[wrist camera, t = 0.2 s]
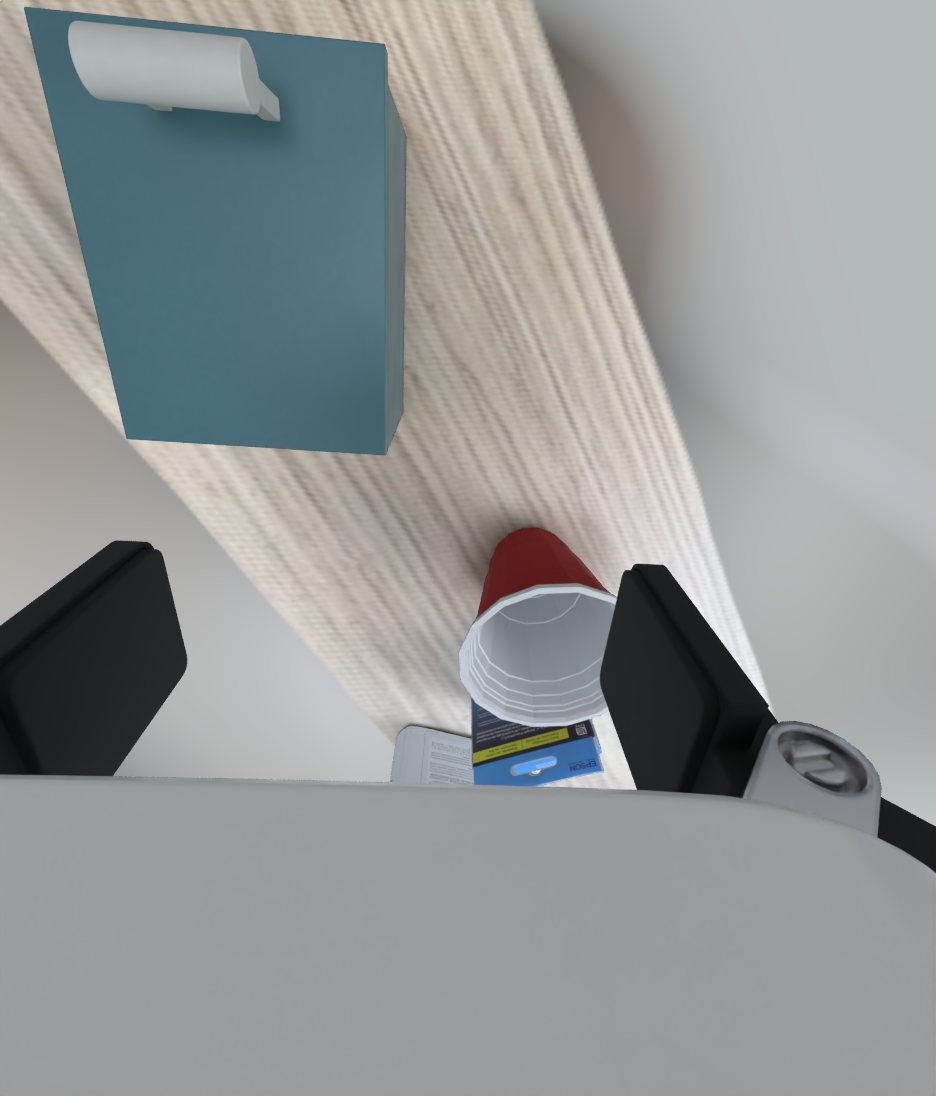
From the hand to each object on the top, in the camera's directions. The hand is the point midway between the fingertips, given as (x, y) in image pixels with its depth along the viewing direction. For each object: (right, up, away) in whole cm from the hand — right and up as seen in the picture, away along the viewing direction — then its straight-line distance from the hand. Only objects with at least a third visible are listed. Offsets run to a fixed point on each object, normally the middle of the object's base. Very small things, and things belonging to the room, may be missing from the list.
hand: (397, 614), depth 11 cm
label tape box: (+6, -9, +34) cm, 36 cm away
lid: (-8, +14, +12) cm, 20 cm away
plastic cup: (+6, 0, +29) cm, 29 cm away
